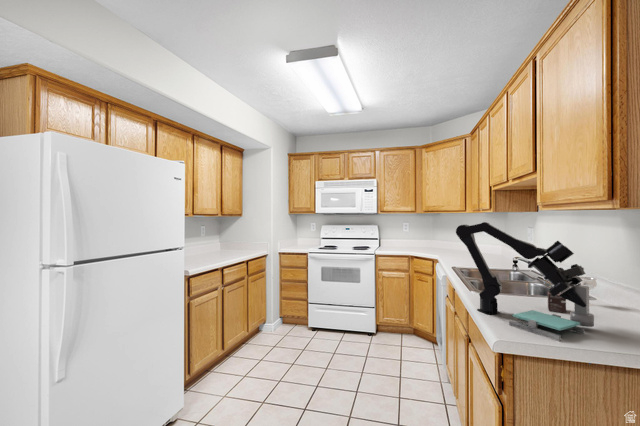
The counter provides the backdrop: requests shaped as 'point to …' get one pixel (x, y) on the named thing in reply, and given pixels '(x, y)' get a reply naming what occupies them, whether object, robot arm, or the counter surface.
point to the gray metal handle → (582, 308)
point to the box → (556, 303)
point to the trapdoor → (546, 320)
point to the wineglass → (589, 284)
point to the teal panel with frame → (534, 329)
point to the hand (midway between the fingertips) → (586, 305)
